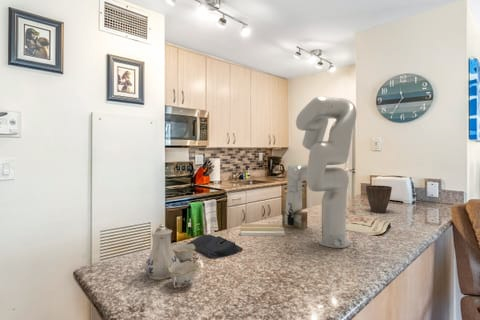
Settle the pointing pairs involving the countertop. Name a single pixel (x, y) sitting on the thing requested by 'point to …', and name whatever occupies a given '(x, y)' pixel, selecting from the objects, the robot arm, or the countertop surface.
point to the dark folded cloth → (215, 246)
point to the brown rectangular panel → (295, 219)
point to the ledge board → (262, 230)
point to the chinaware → (170, 259)
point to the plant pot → (378, 197)
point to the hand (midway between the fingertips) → (294, 222)
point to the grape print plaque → (365, 224)
